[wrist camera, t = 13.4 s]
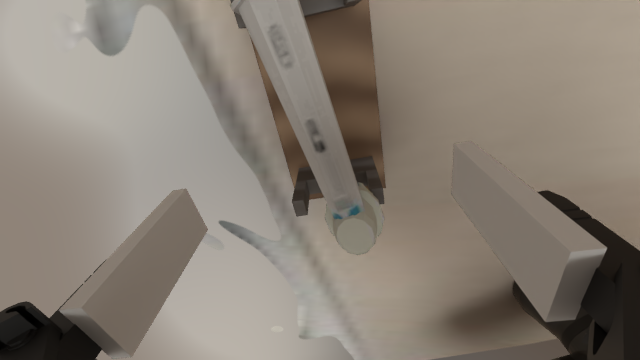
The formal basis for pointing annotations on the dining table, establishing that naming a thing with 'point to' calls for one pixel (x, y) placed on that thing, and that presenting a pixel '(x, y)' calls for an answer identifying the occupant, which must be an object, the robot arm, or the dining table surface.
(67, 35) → the dining table surface
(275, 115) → the hook board
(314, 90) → the grey handled tool
